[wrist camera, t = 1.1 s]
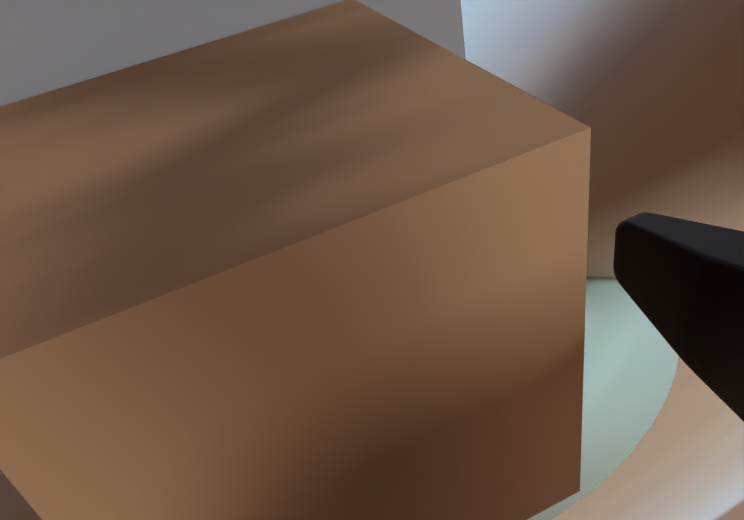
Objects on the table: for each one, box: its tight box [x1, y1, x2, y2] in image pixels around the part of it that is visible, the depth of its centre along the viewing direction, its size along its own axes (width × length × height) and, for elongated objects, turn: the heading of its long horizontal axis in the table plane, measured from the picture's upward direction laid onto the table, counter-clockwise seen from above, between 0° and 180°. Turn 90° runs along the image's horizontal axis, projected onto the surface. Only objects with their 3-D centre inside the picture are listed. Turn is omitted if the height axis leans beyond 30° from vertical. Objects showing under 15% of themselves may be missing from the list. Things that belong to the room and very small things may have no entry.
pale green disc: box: [527, 277, 678, 520], centre depth 20 cm, size 10×10×1 cm
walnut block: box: [0, 0, 591, 520], centre depth 10 cm, size 6×6×6 cm
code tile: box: [0, 0, 466, 107], centre depth 12 cm, size 10×10×1 cm
